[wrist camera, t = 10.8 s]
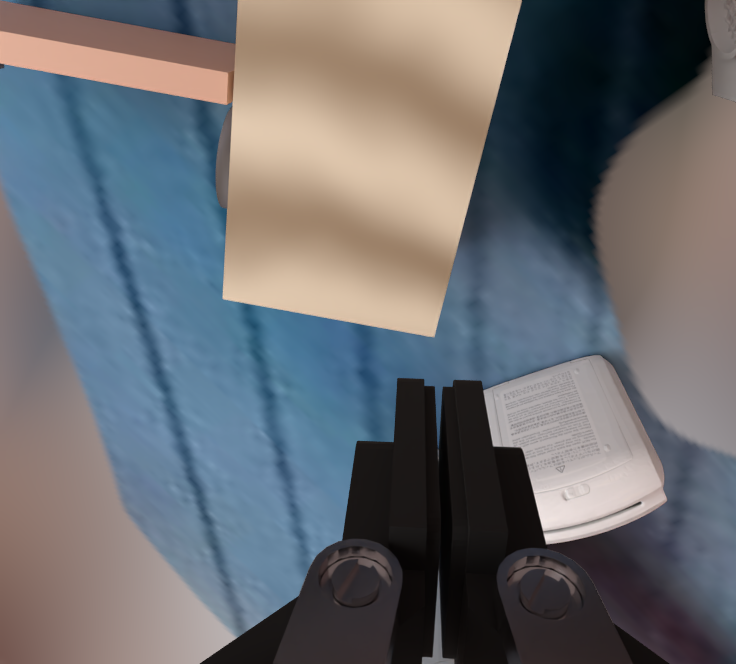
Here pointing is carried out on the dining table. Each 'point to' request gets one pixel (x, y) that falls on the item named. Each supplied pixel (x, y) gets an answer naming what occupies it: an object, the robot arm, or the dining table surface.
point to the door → (116, 53)
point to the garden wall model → (722, 46)
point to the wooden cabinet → (356, 152)
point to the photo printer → (578, 447)
